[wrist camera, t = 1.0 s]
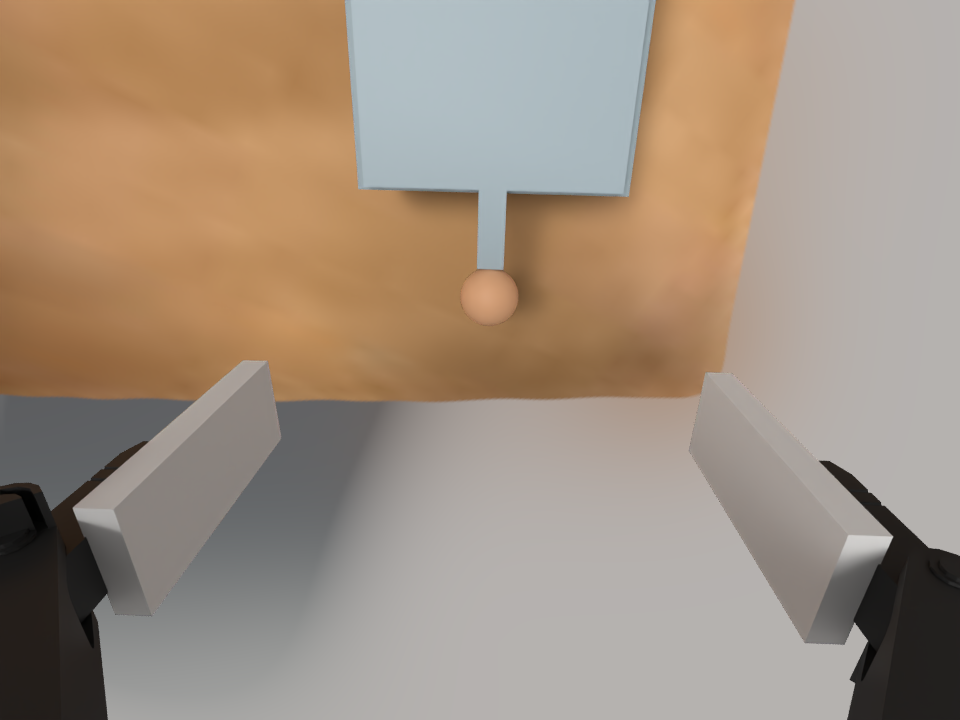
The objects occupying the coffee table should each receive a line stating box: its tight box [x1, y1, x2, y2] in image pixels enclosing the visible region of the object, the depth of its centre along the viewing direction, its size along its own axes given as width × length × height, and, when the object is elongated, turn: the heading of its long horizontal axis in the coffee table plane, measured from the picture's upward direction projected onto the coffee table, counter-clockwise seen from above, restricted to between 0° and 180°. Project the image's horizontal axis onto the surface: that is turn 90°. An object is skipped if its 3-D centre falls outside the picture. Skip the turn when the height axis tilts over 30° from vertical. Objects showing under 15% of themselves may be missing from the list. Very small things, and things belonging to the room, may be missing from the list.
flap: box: [351, 0, 649, 326], centre depth 24 cm, size 13×20×3 cm, turn 179°
